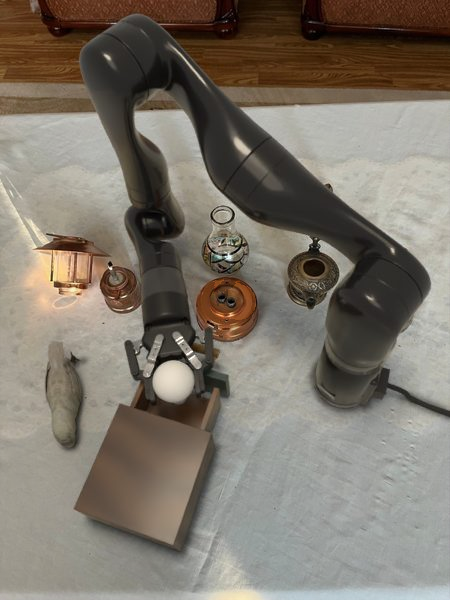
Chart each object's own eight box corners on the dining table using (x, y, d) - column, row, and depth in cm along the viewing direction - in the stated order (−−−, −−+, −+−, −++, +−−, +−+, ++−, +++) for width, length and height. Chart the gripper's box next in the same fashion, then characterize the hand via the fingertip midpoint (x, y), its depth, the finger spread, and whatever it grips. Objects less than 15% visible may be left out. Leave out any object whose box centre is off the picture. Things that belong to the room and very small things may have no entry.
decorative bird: (54, 452, 84) (38, 439, 78) (52, 361, 92) (37, 343, 86) (88, 445, 85) (75, 432, 78) (82, 356, 93) (70, 337, 86)
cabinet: (131, 422, 86) (119, 403, 78) (215, 449, 84) (212, 432, 75) (91, 518, 79) (73, 509, 71) (181, 551, 77) (173, 545, 68)
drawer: (166, 344, 92) (159, 324, 86) (238, 365, 90) (238, 346, 83) (121, 451, 83) (110, 437, 77) (201, 477, 81) (196, 466, 74)
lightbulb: (206, 401, 83) (201, 376, 73) (175, 425, 81) (165, 403, 72) (183, 373, 86) (175, 345, 76) (153, 396, 84) (140, 371, 74)
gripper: (115, 297, 81) (122, 400, 73) (207, 282, 82) (224, 383, 74) (124, 319, 88) (132, 416, 79) (209, 305, 88) (226, 400, 80)
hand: (176, 399), depth 77 cm, fingers closed on lightbulb, 6 cm apart
